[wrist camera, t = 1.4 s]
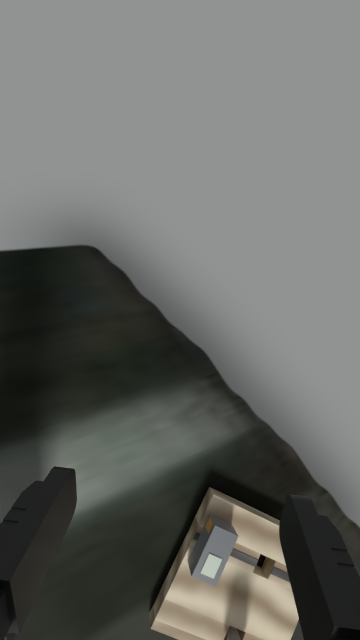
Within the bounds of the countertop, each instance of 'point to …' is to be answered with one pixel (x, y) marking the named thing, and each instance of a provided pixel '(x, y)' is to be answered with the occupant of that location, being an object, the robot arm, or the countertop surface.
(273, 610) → the board
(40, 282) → the countertop surface
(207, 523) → the block
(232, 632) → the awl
